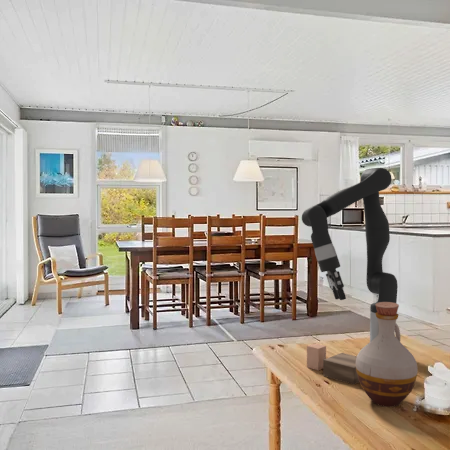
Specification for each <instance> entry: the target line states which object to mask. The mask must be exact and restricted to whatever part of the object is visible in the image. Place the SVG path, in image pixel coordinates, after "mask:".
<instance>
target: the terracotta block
mask: <svg viewBox="0 0 450 450" xmlns="http://www.w3.org/2000/svg"><path fill="white" fill-rule="evenodd" d="M324 359H327V346H326V345H323V344H320V343H316V342H315V343H311V344H309V345H307V346H306V368H308V369H312V370H315V371H320V369H321V370H323V360H324Z"/></svg>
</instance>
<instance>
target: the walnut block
mask: <svg viewBox="0 0 450 450" xmlns="http://www.w3.org/2000/svg"><path fill="white" fill-rule="evenodd" d="M356 358H357V355H353V354H349V353H344V352H340V353H337V354H335V355H333V356H329V357H326V359H324V360H323V369H322V371H323V373H322V375H323V377H326V378H329V379H333V380H335V381H336V380H337V381H340V382H343V383H346V384H350V385H353V386H354V385H356V384H359V383H360V382H359V379H358V376H357V371H356Z"/></svg>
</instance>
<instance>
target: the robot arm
mask: <svg viewBox="0 0 450 450" xmlns="http://www.w3.org/2000/svg"><path fill="white" fill-rule="evenodd" d="M359 179H360V180H359V182H358V183H356V184H354V185H351V186H349V187H346V188H342V189H341V190H339V191H336V192H334V193H333V194H330V195H329V196H327V197H326V198H325V199H323V200H321V201H320V202H318V203H317V204H314V205H312V206H310V207H308V208H307V209H305V210H304V211H303V213H302V215H301V221H302V223H303V225H305V226H306V227H311V235H310V240H311V244H312V245H313V249H314V254H315V257H316V261H317V263H318V267H319V269H320V272H321V273H325V272H326V273H325V276H326V280H327V282H328V286H329V288H330V290H331V291H332V293H333V296H334V298H335V300H340V301H344V300H346V299H347V297H346V296H347V295H346V294H345V291H344V290H345V289H344V287H345V285H344V283H343V279H342V276H341V273H340V271H339V270H336V269H338V268H340V267H341V262H340V260H339V257H338V255H337V254H338V253H337V251H336V248H335V246H334V244H333V241H332V239H331V236H330V233H329V232H330V231H329V223H328V222H329V221H328V218H329V217H331V216H335V215H336V214H338V213H339V212H341V211H342V210H343V211H344V210H345V209H346V208H348V207H349V206H351V205H353V204H355V203H357V202H358V201H360V200H362V202H363V212H364V226H365V227H364V229H365V240H366V241H365V242H366V286H367V290H368V291H369V293H372V294H376V295H378V297H377V298H378V299H377V301H376V302H373V303H371V304H370V306H369V308H370V309H369V311H370V313H369V314H370V315H369V317H370V318H369V319H370V320H369V343H370V342H371V341H372V340H373V339H374V338H375V337H376V336H377V335H378V333H379V324H378V319H377V317H376V312H377V309H376V305H375V304H376V303H379V302H393V303H397V299H398V287H399V286H398V280H397V277H396V276H395V275H394V274H392V273H389V272H384V271H383V270H384V269H383V258H384V255H385V252H386V250H387V249H388V246H389V244H390V239H391V237H390V235H391V234H390V233H391V232H390V224H389V220H388V218H387V215H386V214H385V211H384V210H383V208H382V207H383V206H382V205H381V202H380V192H382V191H384V190H386V189H387V188H388V187H390V186H391V183H392V174H391V172H390V171H389V170H388V169H387V168H385V167H371V168H366V169H364V170H363V171H362V173H361V176H360V178H359Z"/></svg>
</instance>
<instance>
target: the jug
mask: <svg viewBox="0 0 450 450" xmlns="http://www.w3.org/2000/svg"><path fill="white" fill-rule="evenodd" d="M375 303H376V302H375ZM375 305H376V309H377V312H376V317H377V319H378V324H379V333H378V335H377V336H376V337H375V338H374V339H373V340H372V341H371V342H370V341H369V342H368V343H367V344H366V345H365V346H363V347H362V348H361V349H360V351H359V352H358V353H357V355H356V356H357V358H356V371H357V376H358V379H359V382H358V383H359V384H360V387H361V388H362V389H363V391H364V392H365V394H366V395H367V396H368V398H369V400H370V401H371V402H372V403H373V404H375V405H377V406H380V407H385V408H386V407H387V408H394V407H398V406H399V405H400V404H401V403H402V402H403V401H405V399H406V398H407V397H408V396H410V394H411V393H412V391H413V389H414V386H415V384H416V380H417V377H418V363H417V361H416V358H415V356H414V354H413V353H412V352H411V351H409V349H408V348H407V347H406V346H405V345H403V343H402V342H401V331H400V330H401V329H400V328H399V327H400V326H399V325H398V324H397V320H398V318H399V314H398V310H399V307H400V305H399V304H398V303H397V302H396V303H393V302H379V303H376V304H375Z"/></svg>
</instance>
